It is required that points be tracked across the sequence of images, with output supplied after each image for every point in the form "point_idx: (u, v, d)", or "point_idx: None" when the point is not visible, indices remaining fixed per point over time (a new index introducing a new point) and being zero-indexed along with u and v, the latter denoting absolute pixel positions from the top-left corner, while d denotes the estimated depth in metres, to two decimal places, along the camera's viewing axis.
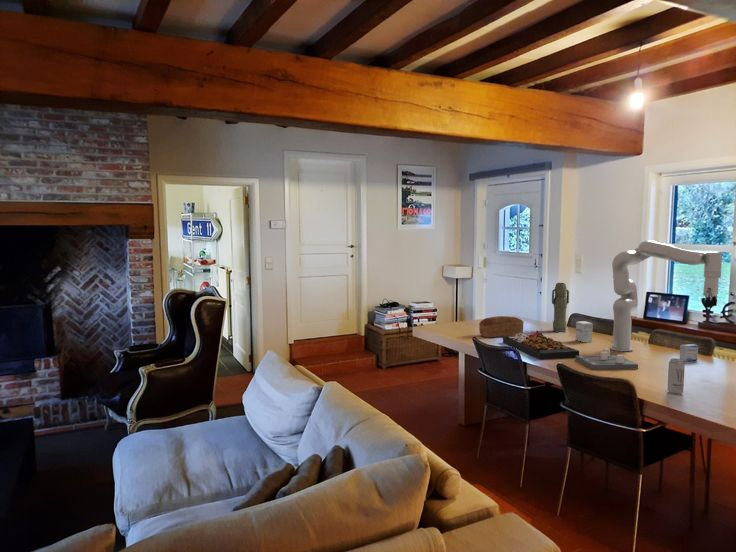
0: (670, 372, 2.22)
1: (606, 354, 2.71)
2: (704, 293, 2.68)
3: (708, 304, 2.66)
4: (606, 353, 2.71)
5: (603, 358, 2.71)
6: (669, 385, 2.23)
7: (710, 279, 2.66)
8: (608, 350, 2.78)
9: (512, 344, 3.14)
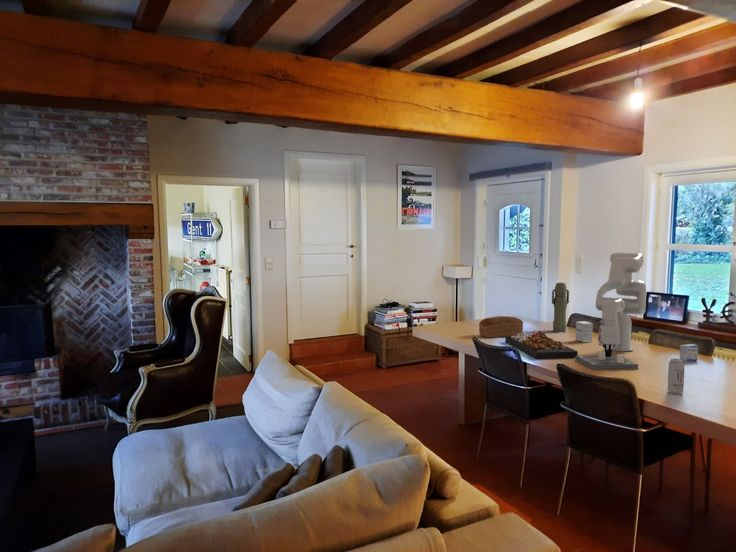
0: (670, 372, 2.22)
1: (604, 354, 2.71)
2: None
3: None
4: (604, 353, 2.71)
5: (601, 358, 2.71)
6: (669, 385, 2.23)
7: None
8: None
9: (513, 343, 3.15)
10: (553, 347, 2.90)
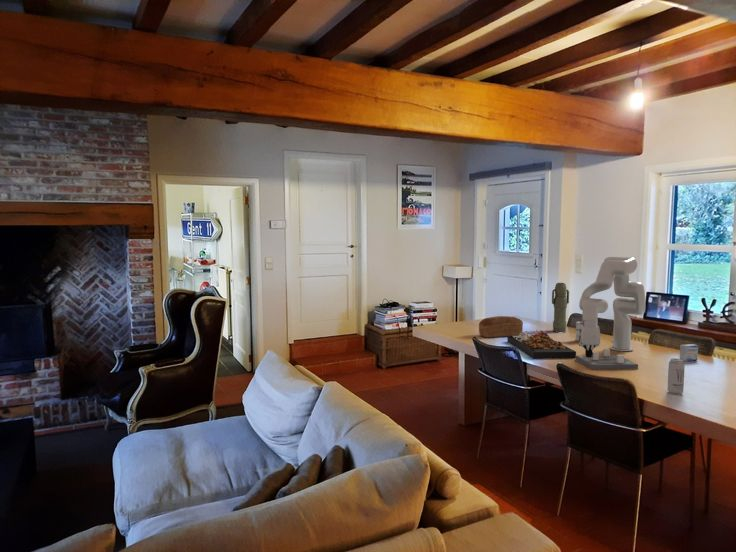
0: (670, 372, 2.22)
1: (597, 354, 2.71)
2: None
3: None
4: (597, 353, 2.71)
5: (594, 358, 2.71)
6: (669, 385, 2.23)
7: None
8: (608, 350, 2.78)
9: (514, 343, 3.16)
10: (551, 347, 2.90)
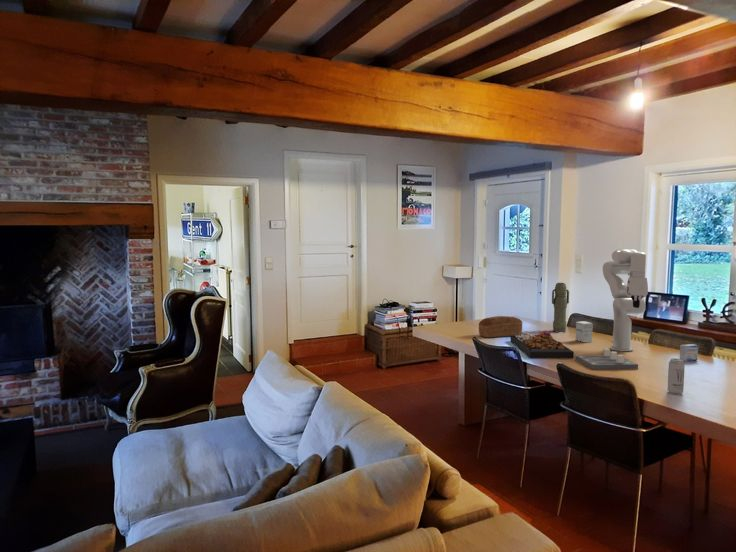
0: (670, 372, 2.22)
1: (615, 354, 2.71)
2: None
3: None
4: (615, 353, 2.71)
5: (612, 358, 2.71)
6: (669, 385, 2.23)
7: None
8: (608, 350, 2.78)
9: (515, 342, 3.18)
10: (549, 347, 2.91)
